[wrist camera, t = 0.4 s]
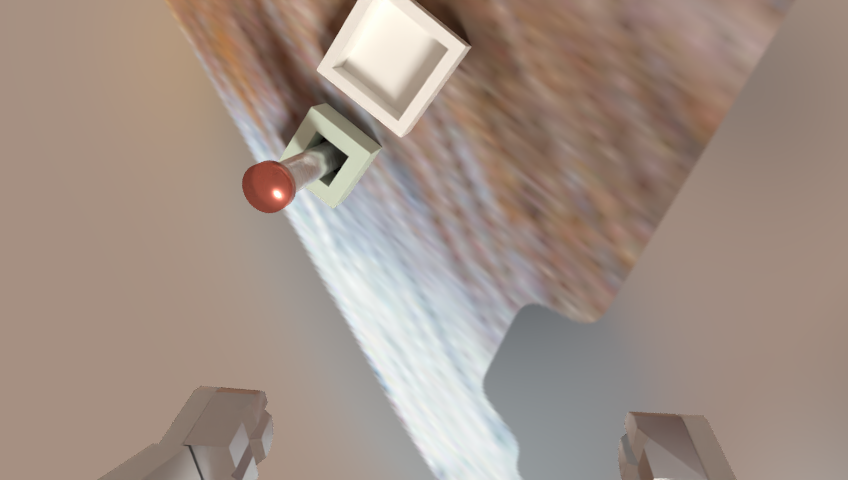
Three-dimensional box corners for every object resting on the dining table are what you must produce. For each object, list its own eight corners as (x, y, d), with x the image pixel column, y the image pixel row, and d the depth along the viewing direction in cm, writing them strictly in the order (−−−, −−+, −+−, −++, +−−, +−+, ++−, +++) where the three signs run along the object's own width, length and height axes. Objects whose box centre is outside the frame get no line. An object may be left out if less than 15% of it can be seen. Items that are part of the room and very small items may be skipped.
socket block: (326, 102, 57) (311, 106, 53) (382, 147, 57) (371, 154, 54) (292, 157, 60) (276, 164, 56) (345, 199, 60) (332, 208, 57)
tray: (386, -24, 51) (374, -29, 47) (471, 46, 51) (465, 46, 48) (331, 68, 55) (316, 70, 52) (410, 131, 56) (400, 137, 52)
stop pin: (319, 131, 58) (241, 160, 43) (355, 136, 57) (288, 167, 43) (318, 168, 60) (243, 208, 45) (353, 173, 59) (288, 216, 44)
